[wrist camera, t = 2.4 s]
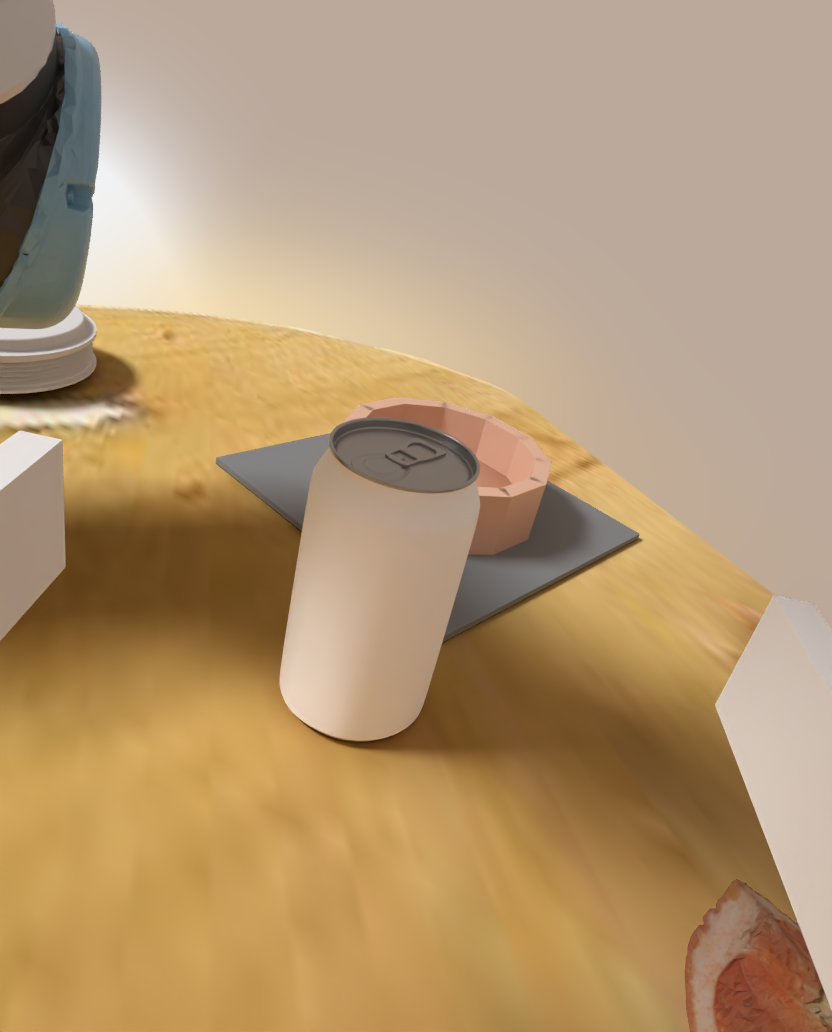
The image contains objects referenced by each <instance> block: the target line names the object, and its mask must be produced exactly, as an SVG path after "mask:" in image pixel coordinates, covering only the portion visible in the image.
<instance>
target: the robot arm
mask: <svg viewBox="0 0 832 1032" xmlns="http://www.w3.org/2000/svg"><path fill="white" fill-rule="evenodd" d="M100 125H101V76H100V64H99V58H98V55H97V52H96V50H95V48H94V47H93V45H92V44H91V43H90V42H89V41H88V40H86V39H85V38H83V37H81V36H79V35H76V34H73V33H72V32H71V31H70V30H69V29H68V28H66V27H65V26H63V25H62V24H56V20H55V9H54V4H53V0H0V328H17V329H44V328H49V327H52V326H54V325H56V324H58V323H60V322H61V321H63V320H64V319H65V318H66V317H67V316H68V315H69V314H70V313H71V312H72V310H73V309H74V307H75V305H76V302H77V300H78V297H79V294H80V290H81V286H82V283H83V278H84V273H85V268H86V261H87V256H88V249H89V243H90V236H91V226H92V218H93V203H92V196H93V194H94V190H95V179H96V174H97V168H98V158H99V143H100ZM65 567H66V558H65V520H64V481H63V442H62V440H61V439H56V438H52V437H47V436H43V435H38V434H33V433H29V432H24V431H18V432H17V433H15V434H14V435H13V436H11V437H10V438H8V439H7V440H6V441H4V442H3V443H2V444H0V641H1V640H2V638H3V637H4V636H5V635H6V634H7V633H8V632H9V631H10V629H11V628H12V627H13V626H14V625H15V624H16V623H17V621H18V620H19V619H20V618H21V617H22V616H23V615H24V614H25V612H26V611H27V610H28V609H29V608H30V607H31V606H32V605H33V603H34V602H35V601H36V600H37V599H38V598H39V597H40V596H41V594H42V593H43V592H44V591H45V590H46V589H47V588H48V586H49V585H50V584H51V583H52V582H53V581H54V580H55V579H56V577H57V576H58V575H59V574H60V573H61V572H62V571H63V570H64V568H65ZM715 707H716V709H717V712H718V715H719V717H720V720H721V722H722V725H723V728H724V730H725V733H726V735H727V738H728V741H729V743H730V746H731V749H732V751H733V754H734V756H735V759H736V762H737V764H738V767H739V769H740V772H741V775H742V777H743V780H744V783H745V785H746V788H747V790H748V793H749V796H750V798H751V801H752V803H753V806H754V809H755V811H756V814H757V817H758V819H759V822H760V824H761V827H762V830H763V832H764V835H765V837H766V840H767V843H768V845H769V848H770V851H771V853H772V856H773V858H774V861H775V864H776V866H777V869H778V871H779V874H780V877H781V879H782V882H783V885H784V887H785V890H786V892H787V895H788V898H789V900H790V903H791V905H792V908H793V911H794V913H795V916H796V919H797V921H798V924H799V926H800V929H801V932H802V934H803V937H804V939H805V942H806V945H807V947H808V950H809V953H810V955H811V958H812V960H813V963H814V966H815V968H816V971H817V973H818V976H819V979H820V981H821V984H822V987H823V989H824V992H825V994H826V997H827V1000H828V1002H829V1005H830V1008H831V1010H832V630H831V629H830V627H829V626H828V624H827V623H826V621H825V620H824V618H823V617H822V615H821V613H820V612H819V611H818V609H817V607H816V606H815V604H814V603H809V602H804V601H800V600H795V599H791V598H786V597H781V596H777V595H773V597H772V599H771V601H770V603H769V605H768V607H767V609H766V610H765V612H764V614H763V616H762V618H761V620H760V622H759V623H758V625H757V627H756V629H755V631H754V633H753V635H752V637H751V638H750V640H749V642H748V644H747V646H746V648H745V650H744V652H743V653H742V655H741V657H740V659H739V661H738V663H737V665H736V666H735V668H734V670H733V672H732V674H731V676H730V678H729V680H728V681H727V683H726V685H725V687H724V689H723V691H722V693H721V694H720V696H719V698H718V700H717V702H716V704H715Z"/></svg>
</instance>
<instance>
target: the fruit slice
mask: <svg viewBox="0 0 832 1032" xmlns="http://www.w3.org/2000/svg"><path fill="white" fill-rule="evenodd" d="M703 921H704V925H699V926H698V927H697V929H696V930H695V931H694V932H693V934H692V936H691V939H690V942H689V944H688V953H687V957H686V966H685V986H686V1009H687V1015H688V1021H689V1027H690V1032H832V1010H831V1008H830V1005H829V1002H828V1000H827V997H826V994H825V992H824V989H823V987H822V984H821V981H820V979H819V976H818V973H817V971H816V968H815V966H814V963H813V960H812V958H811V955H810V953H809V950H808V947H807V945H806V942H805V939H804V937H803V934H802V932H801V929H800V926H799V925H798V924H796V923H795V922H794V921H793V920H792V919H791V918H789V917H788V916H787V915H785V914H784V913H783V912H781V911H780V910H779V909H777V908H776V907H775V906H774V905H773V904H772V903H771V902H770V901H769V900H768V899H766V898H765V897H763V896H762V895H760V894H759V893H757V892H756V891H754V890H753V889H752V888H750V887H748V886H747V884H746V883H743V882H741V881H739V880H735V881H733V882H732V883H731V885H730V886H729V887H728V889H727V890H726V892H725V894H724V895H723V897H722V898H720V899H719V900H718V902H717V904H716V909H709V910H708V912H707V913H706V914H705V915H704V917H703Z"/></svg>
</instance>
